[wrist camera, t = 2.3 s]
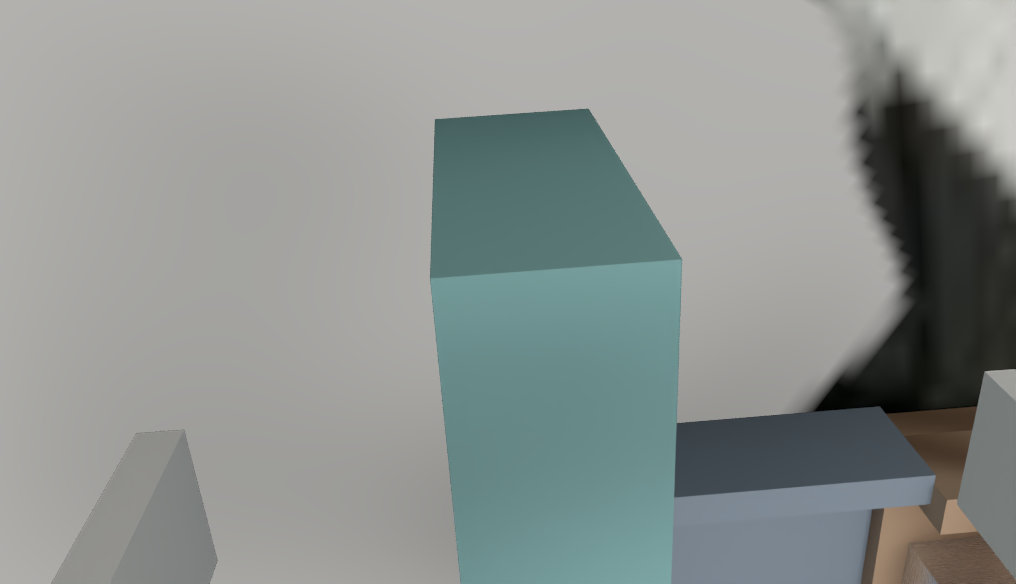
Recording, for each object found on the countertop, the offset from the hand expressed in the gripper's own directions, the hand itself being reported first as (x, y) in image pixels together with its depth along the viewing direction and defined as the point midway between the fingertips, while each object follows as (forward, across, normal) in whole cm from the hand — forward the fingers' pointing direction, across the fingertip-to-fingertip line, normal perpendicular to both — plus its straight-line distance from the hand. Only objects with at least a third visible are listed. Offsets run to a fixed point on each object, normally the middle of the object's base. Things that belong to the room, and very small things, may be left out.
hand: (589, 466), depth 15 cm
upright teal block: (+11, 0, 0) cm, 11 cm away
